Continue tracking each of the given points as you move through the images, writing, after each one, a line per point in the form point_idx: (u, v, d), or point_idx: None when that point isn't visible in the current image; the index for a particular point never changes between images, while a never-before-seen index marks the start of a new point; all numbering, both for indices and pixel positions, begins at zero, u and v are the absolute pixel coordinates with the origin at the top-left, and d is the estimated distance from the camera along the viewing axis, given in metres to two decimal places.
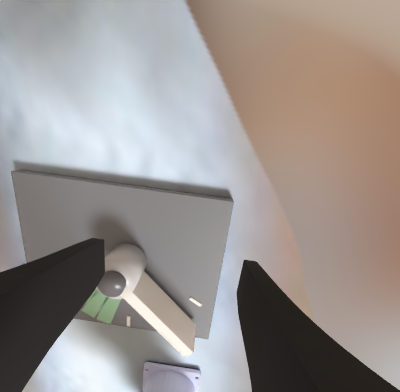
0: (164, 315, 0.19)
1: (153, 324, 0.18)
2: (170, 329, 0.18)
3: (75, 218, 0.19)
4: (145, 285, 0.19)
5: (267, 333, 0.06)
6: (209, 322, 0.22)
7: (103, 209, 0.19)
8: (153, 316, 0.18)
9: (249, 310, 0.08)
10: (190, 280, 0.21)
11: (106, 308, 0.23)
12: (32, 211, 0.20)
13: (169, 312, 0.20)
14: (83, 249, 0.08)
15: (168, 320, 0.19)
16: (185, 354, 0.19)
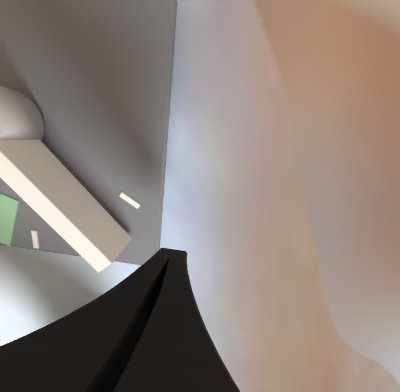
0: (61, 198, 0.11)
1: (37, 208, 0.11)
2: (68, 218, 0.11)
3: None
4: (32, 152, 0.11)
5: None
6: (154, 237, 0.15)
7: None
8: (33, 191, 0.10)
9: None
10: (117, 160, 0.13)
11: None
12: None
13: (78, 202, 0.12)
14: (165, 261, 0.08)
15: (68, 207, 0.11)
16: (99, 267, 0.11)
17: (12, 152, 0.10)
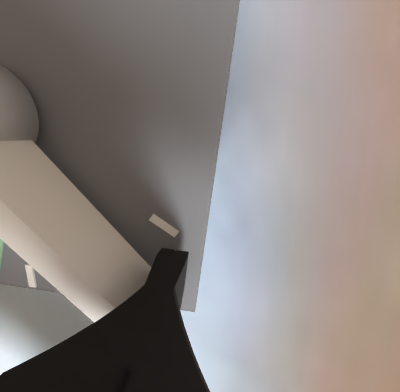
0: (66, 236, 0.07)
1: (26, 255, 0.06)
2: (77, 271, 0.07)
3: None
4: (20, 160, 0.07)
5: None
6: (196, 274, 0.11)
7: None
8: (20, 229, 0.06)
9: None
10: (148, 170, 0.09)
11: None
12: None
13: (90, 236, 0.08)
14: (184, 264, 0.08)
15: (77, 250, 0.07)
16: None
17: None
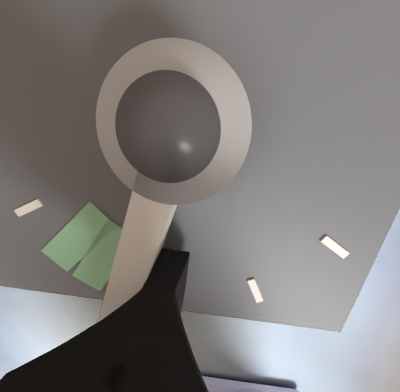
0: None
1: (112, 295, 0.07)
2: None
3: (45, 7, 0.07)
4: (173, 210, 0.07)
5: None
6: (353, 295, 0.10)
7: None
8: (134, 285, 0.06)
9: None
10: (333, 191, 0.09)
11: None
12: None
13: None
14: (185, 264, 0.08)
15: None
16: None
17: (167, 222, 0.06)
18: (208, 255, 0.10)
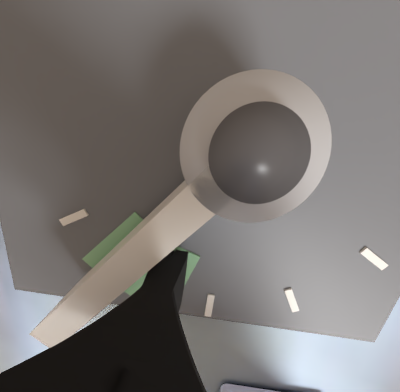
0: None
1: (110, 268, 0.06)
2: (106, 305, 0.07)
3: (107, 29, 0.07)
4: None
5: None
6: (389, 306, 0.10)
7: None
8: (138, 268, 0.06)
9: None
10: (375, 205, 0.09)
11: None
12: None
13: None
14: (183, 264, 0.08)
15: None
16: (39, 336, 0.08)
17: None
18: (247, 265, 0.10)
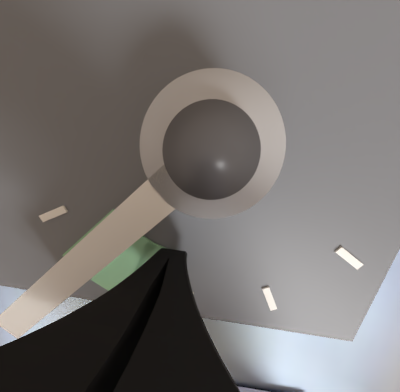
0: None
1: (72, 258, 0.06)
2: (69, 295, 0.07)
3: (82, 28, 0.07)
4: None
5: None
6: (366, 305, 0.10)
7: None
8: (100, 259, 0.06)
9: None
10: (349, 204, 0.09)
11: None
12: None
13: None
14: (165, 261, 0.08)
15: None
16: (3, 323, 0.08)
17: None
18: (225, 263, 0.10)
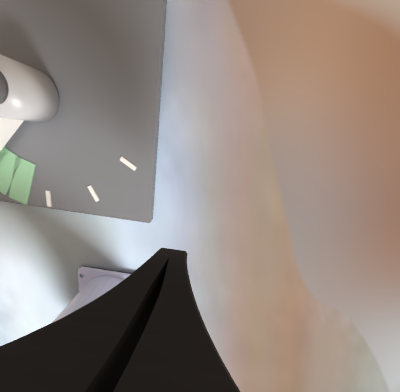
0: None
1: None
2: None
3: None
4: (3, 124, 0.15)
5: None
6: (148, 196, 0.18)
7: None
8: None
9: None
10: (118, 129, 0.16)
11: (18, 179, 0.18)
12: None
13: None
14: (165, 261, 0.08)
15: None
16: None
17: None
18: (63, 170, 0.17)
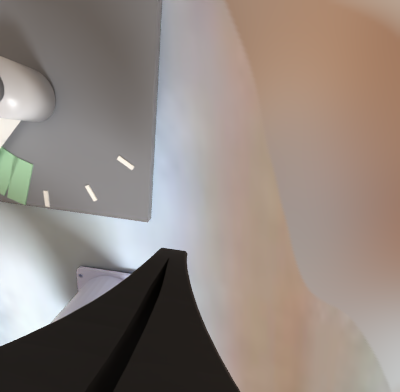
0: None
1: None
2: None
3: None
4: (0, 124, 0.15)
5: None
6: (146, 195, 0.18)
7: None
8: None
9: None
10: (115, 128, 0.16)
11: (16, 180, 0.18)
12: None
13: None
14: (165, 261, 0.08)
15: None
16: None
17: None
18: (60, 170, 0.17)
